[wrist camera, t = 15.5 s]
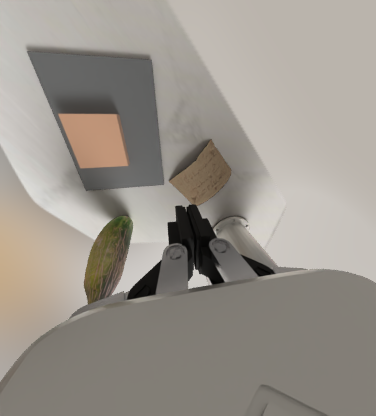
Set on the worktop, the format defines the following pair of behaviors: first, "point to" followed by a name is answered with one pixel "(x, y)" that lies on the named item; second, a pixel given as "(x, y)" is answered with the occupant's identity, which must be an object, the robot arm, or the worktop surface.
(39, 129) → the worktop surface
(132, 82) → the mat
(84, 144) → the block
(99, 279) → the vegetable
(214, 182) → the cork arch piece
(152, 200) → the worktop surface
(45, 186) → the worktop surface
